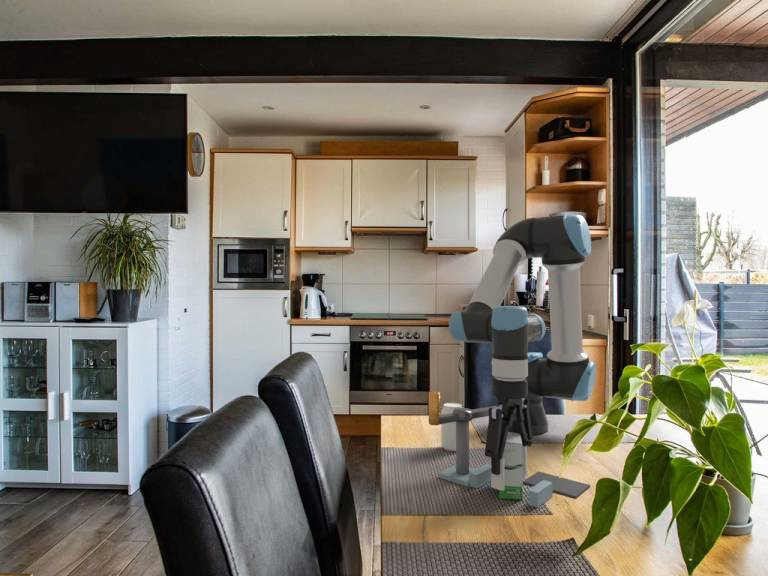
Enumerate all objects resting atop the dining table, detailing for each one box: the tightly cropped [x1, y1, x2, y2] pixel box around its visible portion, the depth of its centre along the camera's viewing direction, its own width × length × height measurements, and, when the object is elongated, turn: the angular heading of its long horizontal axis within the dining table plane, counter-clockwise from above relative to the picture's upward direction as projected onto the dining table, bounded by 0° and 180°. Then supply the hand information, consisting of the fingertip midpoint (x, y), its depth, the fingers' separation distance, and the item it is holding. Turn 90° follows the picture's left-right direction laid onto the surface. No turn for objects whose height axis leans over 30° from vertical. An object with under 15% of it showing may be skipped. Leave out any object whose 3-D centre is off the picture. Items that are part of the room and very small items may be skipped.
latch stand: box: [437, 421, 554, 508], centre depth 110 cm, size 8×24×13 cm, turn 48°
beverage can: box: [440, 402, 463, 452], centre depth 135 cm, size 6×6×12 cm
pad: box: [522, 471, 591, 499], centre depth 110 cm, size 8×12×1 cm, turn 48°
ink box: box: [498, 432, 523, 501], centre depth 107 cm, size 9×5×12 cm, turn 168°
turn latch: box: [428, 390, 496, 426], centre depth 116 cm, size 4×22×7 cm, turn 120°
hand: (509, 481), depth 107 cm, fingers closed on ink box, 9 cm apart
